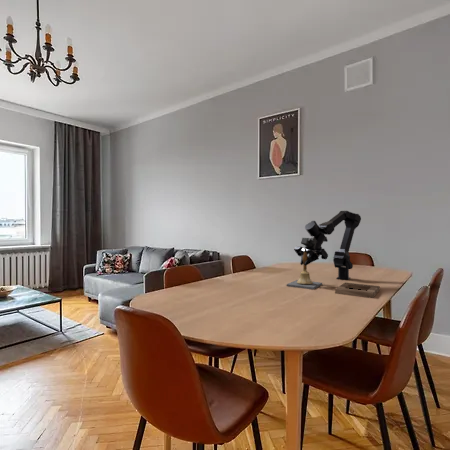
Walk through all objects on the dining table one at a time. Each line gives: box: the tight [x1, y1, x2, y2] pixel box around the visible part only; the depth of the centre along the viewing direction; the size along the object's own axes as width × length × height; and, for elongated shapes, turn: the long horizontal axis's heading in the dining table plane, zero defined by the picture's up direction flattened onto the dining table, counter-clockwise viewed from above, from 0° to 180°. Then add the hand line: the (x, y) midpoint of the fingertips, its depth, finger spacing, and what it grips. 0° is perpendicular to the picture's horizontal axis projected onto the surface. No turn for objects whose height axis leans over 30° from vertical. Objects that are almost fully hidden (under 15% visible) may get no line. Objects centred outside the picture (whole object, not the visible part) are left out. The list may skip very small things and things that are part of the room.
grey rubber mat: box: [286, 279, 323, 290], centre depth 162 cm, size 14×14×1 cm
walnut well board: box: [334, 282, 380, 299], centre depth 147 cm, size 18×16×2 cm
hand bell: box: [297, 252, 314, 284], centre depth 162 cm, size 8×8×16 cm
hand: (303, 264), depth 161 cm, fingers open, 2 cm apart
